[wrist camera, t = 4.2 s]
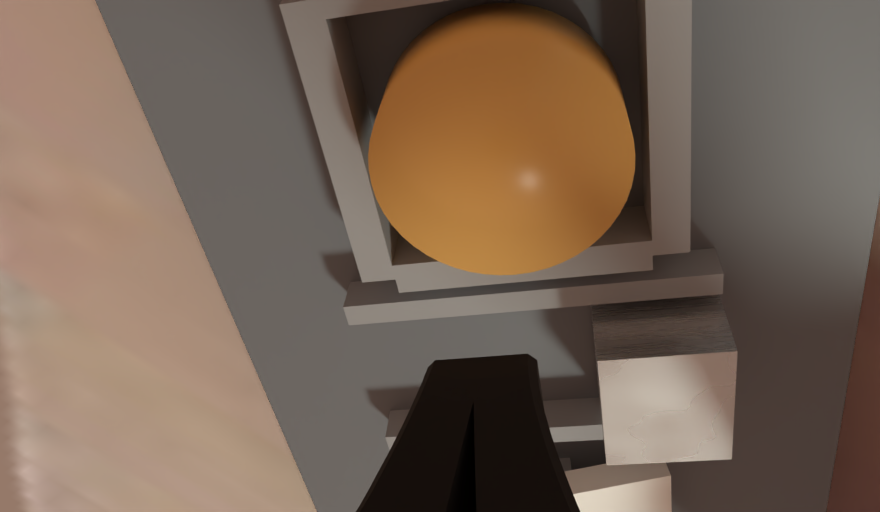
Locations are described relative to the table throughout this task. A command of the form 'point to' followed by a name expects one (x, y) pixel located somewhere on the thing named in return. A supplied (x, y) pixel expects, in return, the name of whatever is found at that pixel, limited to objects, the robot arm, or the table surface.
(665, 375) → the pale beige block
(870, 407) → the table surface
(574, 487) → the plate
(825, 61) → the control panel
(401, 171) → the push button
